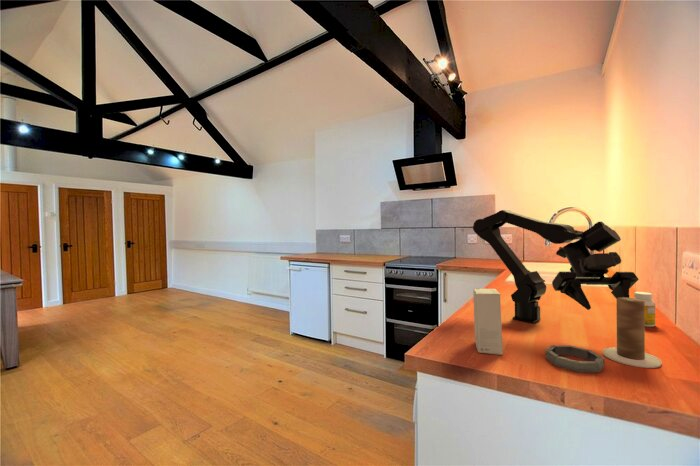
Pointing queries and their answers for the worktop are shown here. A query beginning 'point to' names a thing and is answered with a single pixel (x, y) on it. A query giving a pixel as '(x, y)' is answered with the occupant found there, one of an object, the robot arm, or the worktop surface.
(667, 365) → the worktop surface
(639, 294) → the supplement bottle
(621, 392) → the worktop surface
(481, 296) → the skincare box
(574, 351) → the steel ring
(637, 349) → the walnut peg
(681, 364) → the worktop surface
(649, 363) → the cream disc
